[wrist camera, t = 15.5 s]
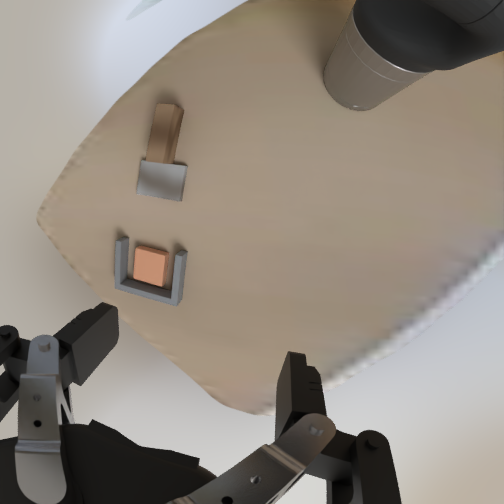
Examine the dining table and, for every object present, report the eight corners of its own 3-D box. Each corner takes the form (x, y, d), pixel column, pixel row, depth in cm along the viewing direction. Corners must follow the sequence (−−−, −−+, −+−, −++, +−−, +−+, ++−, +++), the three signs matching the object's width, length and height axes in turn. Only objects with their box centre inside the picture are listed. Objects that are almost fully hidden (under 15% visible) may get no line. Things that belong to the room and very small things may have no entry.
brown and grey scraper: (154, 108, 35) (142, 103, 31) (198, 112, 35) (190, 105, 31) (139, 193, 39) (126, 195, 35) (182, 200, 39) (172, 203, 35)
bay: (123, 236, 41) (115, 240, 38) (187, 251, 40) (182, 256, 38) (122, 282, 43) (114, 288, 41) (181, 299, 43) (176, 306, 40)
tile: (141, 244, 41) (135, 247, 39) (170, 252, 41) (165, 255, 39) (139, 273, 43) (133, 278, 41) (166, 281, 43) (161, 286, 41)
